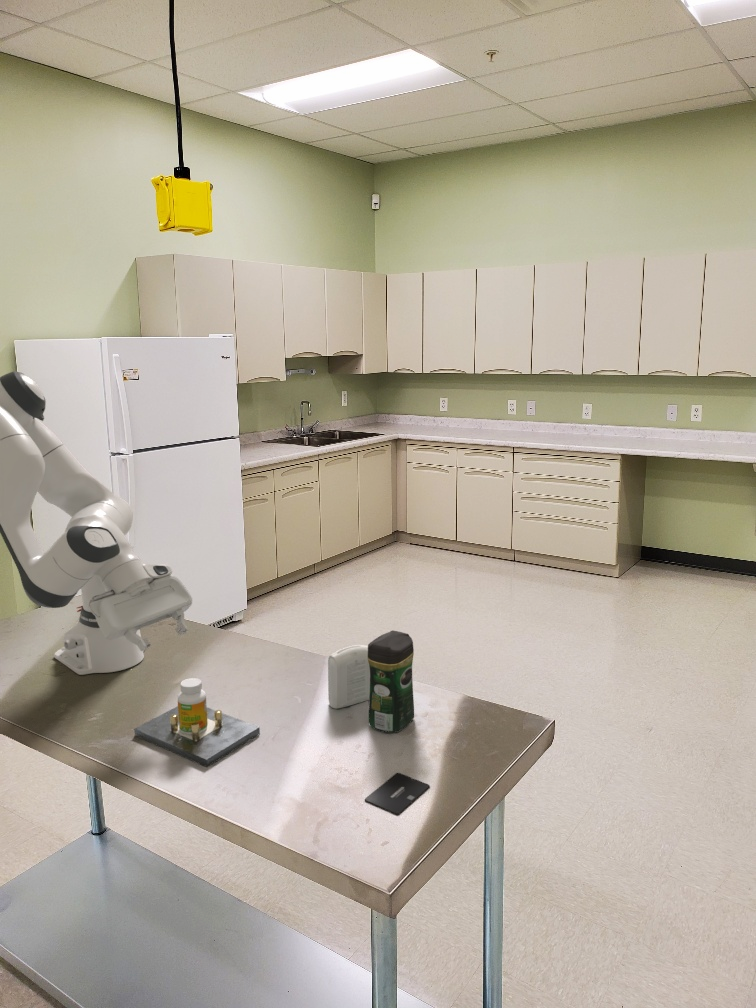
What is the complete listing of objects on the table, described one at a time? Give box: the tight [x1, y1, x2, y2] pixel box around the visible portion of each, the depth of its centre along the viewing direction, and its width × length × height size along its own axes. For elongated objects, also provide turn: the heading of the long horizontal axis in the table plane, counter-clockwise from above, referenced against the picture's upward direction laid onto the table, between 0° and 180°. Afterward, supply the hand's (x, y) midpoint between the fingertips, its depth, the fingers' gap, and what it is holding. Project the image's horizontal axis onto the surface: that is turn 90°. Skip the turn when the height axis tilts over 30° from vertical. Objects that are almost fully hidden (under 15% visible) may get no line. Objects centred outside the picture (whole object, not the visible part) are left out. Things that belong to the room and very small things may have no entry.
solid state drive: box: [364, 772, 430, 816], centre depth 131 cm, size 7×10×1 cm
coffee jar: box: [367, 630, 415, 733], centre depth 153 cm, size 10×8×19 cm
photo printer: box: [327, 644, 370, 709], centre depth 163 cm, size 10×4×12 cm, turn 123°
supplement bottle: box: [177, 677, 208, 735], centre depth 149 cm, size 5×5×10 cm
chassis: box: [133, 705, 261, 768], centre depth 150 cm, size 20×14×4 cm
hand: (165, 640), depth 152 cm, fingers open, 8 cm apart
